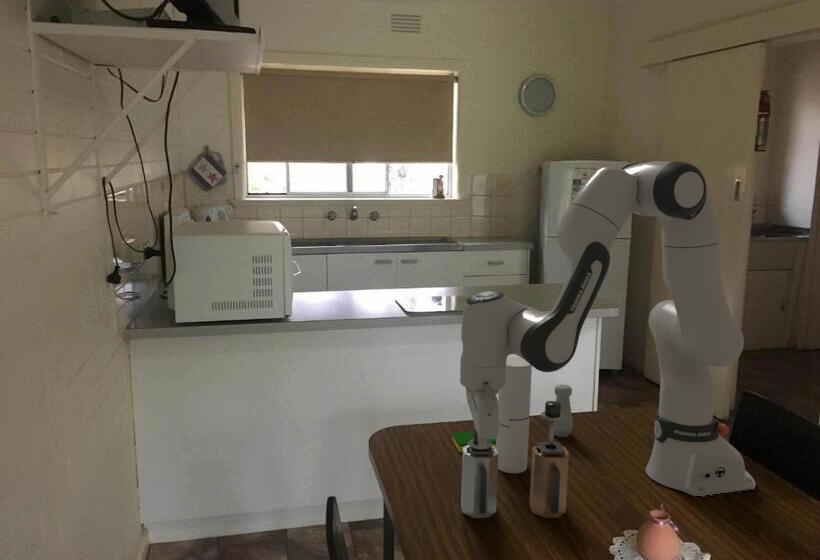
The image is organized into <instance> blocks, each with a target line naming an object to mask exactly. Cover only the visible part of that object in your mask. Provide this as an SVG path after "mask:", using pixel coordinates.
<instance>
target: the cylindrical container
mask: <svg viewBox="0 0 820 560" xmlns="http://www.w3.org/2000/svg"><path fill="white" fill-rule="evenodd" d="M532 372H533V366H532V365H530V364H529V363H528V362H527V361H526V360H524V359H523V358H521V357H519V356H518V357H517V356H507V360H506V384H505V386H504V387H503V388H501V389H499V393H498V394H497V395H498V396H497V397H498V398H497V399H498V410H499V423H498V437H497V442H496V449H497V451H498V470H499V471H501V472H503V473H506V474H507V473H508V474H520V473H524V472H525V471H526V470H527V468H528V454H529V453H528V452H529V433H530V413H531V411H530V410H531V393H532V391H531V390H532Z"/></svg>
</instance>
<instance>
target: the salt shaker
mask: <svg viewBox="0 0 820 560" xmlns="http://www.w3.org/2000/svg"><path fill="white" fill-rule="evenodd" d="M554 394H555V396H556V397H555V401H556V402H559V403H561V413H562V414H563V415H564V419H563V420H562V421H558V422H554V437H558V438H567V437H568V436H570V434H571V433H572V430H573V428H574V423H573V422H574V421H573V415H572V408H571V398H570V397H571V396H572V394H573V389H572V387H571V386H570V385H567V384H557V385H555V388H554Z"/></svg>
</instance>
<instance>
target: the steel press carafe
mask: <svg viewBox="0 0 820 560" xmlns="http://www.w3.org/2000/svg"><path fill="white" fill-rule="evenodd" d="M461 456H462V464H461V493H460V496H461V497H460V500H461V501H460V506H461V512H462V514H465V515H466V516H469V517H471V518H473V519H488V518H490V517H492V516H493V515H494V514H496V513H497V493H498V474H499V473H498V472H499V471H498V470H499V469H498V451H497V449H496V447H493V446H492V447H491V448H490V449H487V450H477V449H473V448H471V447H470V445H469V442H468V445H467V446H465V447H463V452H462V455H461Z"/></svg>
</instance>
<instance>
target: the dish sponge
mask: <svg viewBox="0 0 820 560" xmlns="http://www.w3.org/2000/svg"><path fill="white" fill-rule="evenodd" d="M472 439H473V431H461V432H460V431H459V432H452V439H451V441H452V442H453V444H454V446H455V448H456V449H457V451H458V452H459V453H463V447H465V446H467V445H468V442H470V440H472ZM488 440H489V441H491V442H492V446H493V447H496V442H497V439H488Z"/></svg>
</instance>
